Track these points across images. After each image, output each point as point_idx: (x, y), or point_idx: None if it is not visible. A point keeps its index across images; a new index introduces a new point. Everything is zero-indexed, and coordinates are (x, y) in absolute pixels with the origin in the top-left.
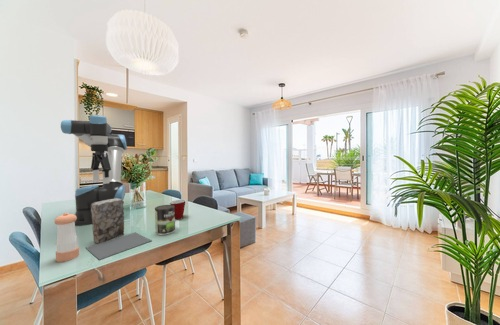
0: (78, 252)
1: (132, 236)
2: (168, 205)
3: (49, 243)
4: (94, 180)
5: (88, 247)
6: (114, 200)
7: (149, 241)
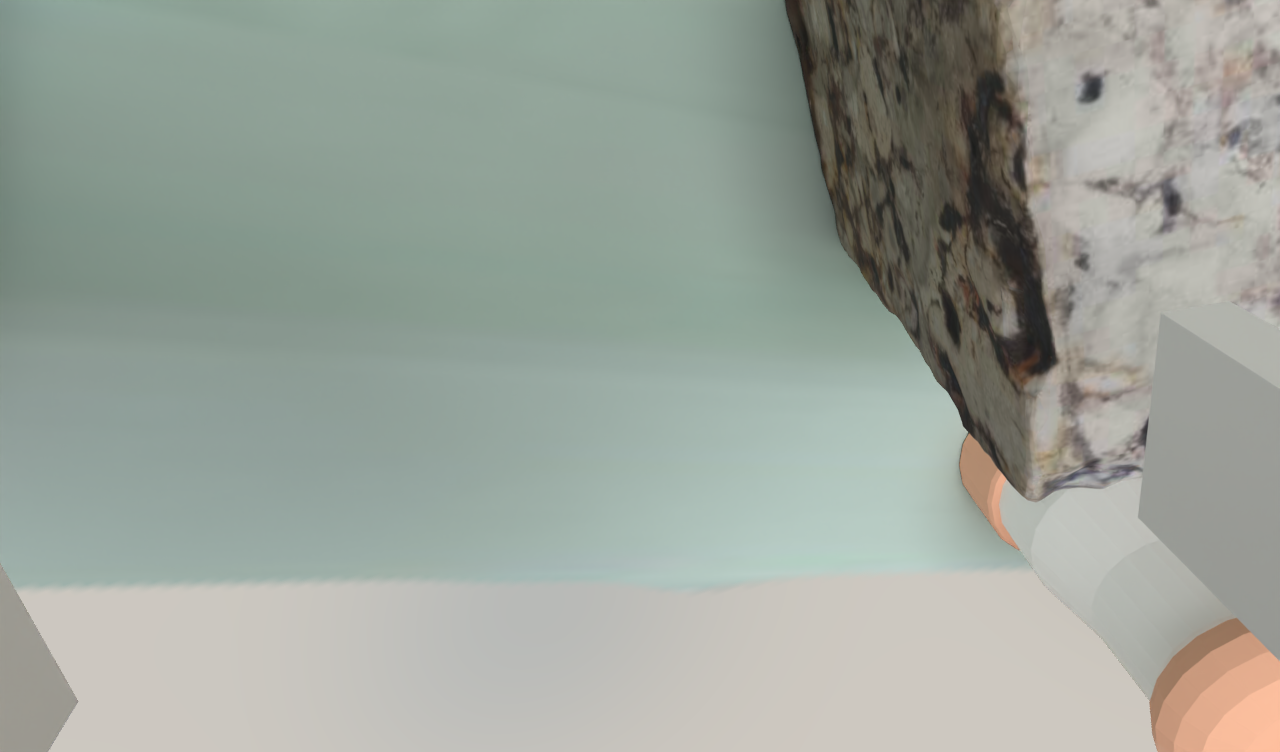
0: None
1: None
2: None
3: (509, 553)
4: (31, 723)
5: None
6: (1264, 106)
7: None
